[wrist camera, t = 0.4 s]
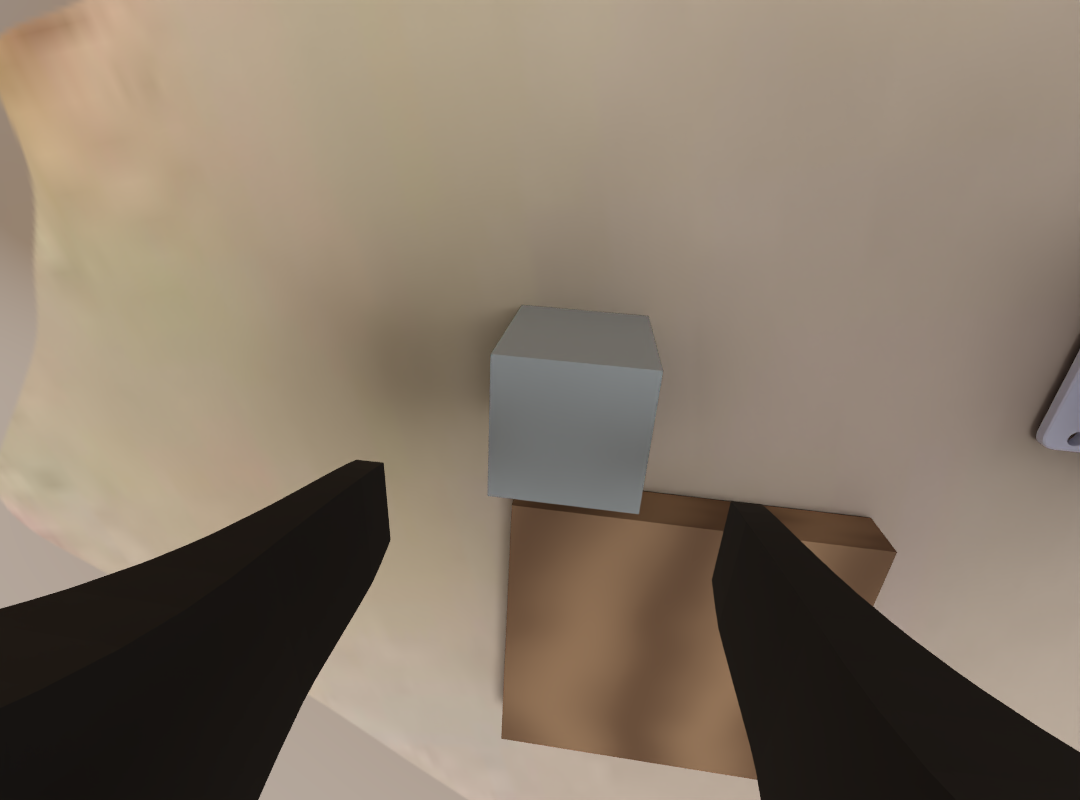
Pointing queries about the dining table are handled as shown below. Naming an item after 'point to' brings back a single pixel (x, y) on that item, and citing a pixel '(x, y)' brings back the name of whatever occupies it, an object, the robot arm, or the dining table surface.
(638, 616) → the board
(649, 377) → the block
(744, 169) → the dining table surface
